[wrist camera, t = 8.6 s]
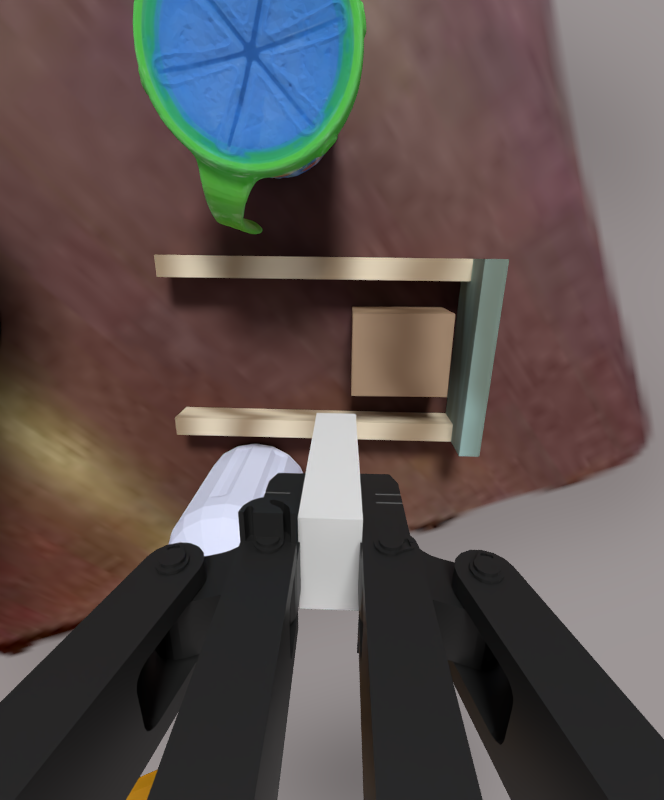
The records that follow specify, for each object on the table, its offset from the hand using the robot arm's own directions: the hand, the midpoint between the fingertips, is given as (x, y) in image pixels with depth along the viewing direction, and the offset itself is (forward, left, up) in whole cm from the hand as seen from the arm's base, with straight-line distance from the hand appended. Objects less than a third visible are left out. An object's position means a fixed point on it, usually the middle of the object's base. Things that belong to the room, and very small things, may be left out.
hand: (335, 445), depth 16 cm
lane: (-1, 0, -18) cm, 18 cm away
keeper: (+4, 0, -18) cm, 19 cm away
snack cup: (-4, +16, -18) cm, 25 cm away
